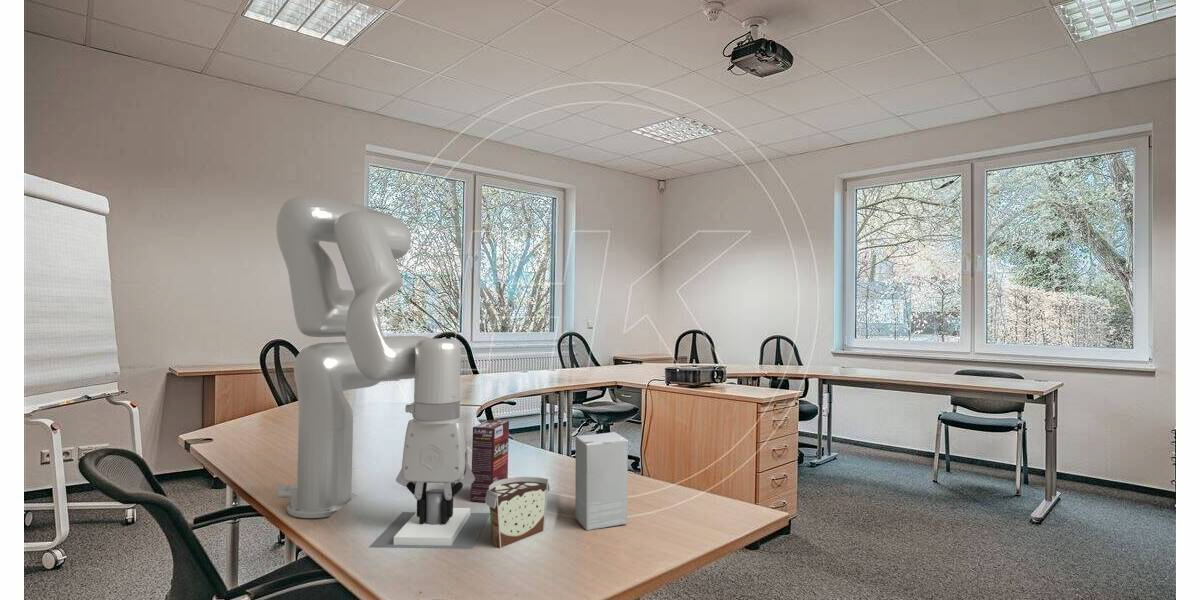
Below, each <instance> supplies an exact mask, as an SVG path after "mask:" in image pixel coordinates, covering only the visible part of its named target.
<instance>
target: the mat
mask: <svg viewBox="0 0 1200 600" xmlns="http://www.w3.org/2000/svg"><path fill="white" fill-rule="evenodd" d="M416 512H417V511H402V512H401V513H400V514H399V515H398V516H397V518H395V519H394V520H393V521H392V522H391V524H389V526H388V527H386V529H385V530H383V532H382V533H381V534H380V535H379V536H378V537H376V539H375V540H373V542H372V543H371V544H370V545H369V547H368V548H382V549H383V548H389V549H390V548H392V549H397V548H399V549H401V548H402V549H454V550H455V549H458V550H459V549H460V550H461V549H463V550H467V549H468V550H470V549H471V550H473V547H474V546H475V544H476V542H477V540H478V538H479V537H480V534H481V533H482V531H483V529H484V527H485V525H486V524H487V521H488V520H489V518H490V512H470V516H469V518H468V519H467V521H466V523H465V524H464V526H463V527H462V529H461V531H460V532H459V534H458V535H457V537H456V539H455V540H454V542H453V543H452V545H451V546H445V545H394V536H395V535H396V534H397V533H398V532H399V531H400V530H401V528H402V527H403V526H404V525H405V524H406V523H407V522H408V521H409V520H410V519H411V517H412V516H413V515H414V514H415V513H416Z"/></svg>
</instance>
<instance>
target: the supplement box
mask: <svg viewBox="0 0 1200 600" xmlns="http://www.w3.org/2000/svg"><path fill="white" fill-rule="evenodd" d="M509 432H510V420H505V419H504V420H502V419H501V420H500V419H488V420H486V421H484V422H482V423H480V424H478V425H474V426H473V427H472V445H471V446H472V447H471V471H472V473H473V475H474V477H475V481H474V482H473V483H472V484H470V503H480V504H486V502H485V498H486V494H487V490H488V489H489V486H490V485H491V484H492V483H494V482H496V481H499V480H502V479H507V478H508V476H509V437H510V436H509V435H510V433H509Z"/></svg>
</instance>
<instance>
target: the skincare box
mask: <svg viewBox="0 0 1200 600" xmlns="http://www.w3.org/2000/svg"><path fill="white" fill-rule="evenodd" d="M628 448H629V440H628V439H626V438H625V437H623V436H622V435H621V434H619V433H618V432H616V431H612V432H603V433H595V434H586V435H585V434H584V435H582V434H581V435H575V519H576V520H577V522H578V523H579V524H580V525H581V526H582V528H584V530H585V531H592V530H598V529H599V530H600V529H603V528H609V527H616V526H622V525H628V479H629V478H628V470H629V469H628V468H629V467H628V461H629V460H628V459H629V458H628V451H629V449H628Z"/></svg>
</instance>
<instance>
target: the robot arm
mask: <svg viewBox="0 0 1200 600" xmlns="http://www.w3.org/2000/svg"><path fill="white" fill-rule="evenodd" d="M275 229H276V237H277V243H278V247H279V250H280V252H281V256H282V257H283V260H284V263H285V265H286V269H287V273H288V280H289V287H290V294H291V300H292V307H293V311H294V313H293V314H294V319H295V322H296V326H297V328H298V331H299V332H300V333H301V334H302V335H305V336H306V337H311V338H335V337H336V338H337V337H338V338H339V337H340V338H341V337H342V338H343V337H344V338H345V341H346V342H345V341H335V342H333V341H332V342H319V343H316V344H314V343H313V344H311V345H308V346H307V347H305V348H302V350H301V351H299V353H298V354H297V355H296V357H295V358H294V362H293V373H294V374H293V375H294V381H295V386H296V392H297V400H298V436H297V437H298V438H297V439H298V440H297V446H298V447H297V475H296V476H297V478H296V479H297V480H296V481H297V482H296V484H295V485H290V484H281V485H280V484H279V486H278V488H277V490H276V491H277V498H278V499H285V498H286V499H290V503H288V505H287V510H286V511H287V512H286V513H287V514H288V515H290V516H291V517H295V518H300V519H320V518H330V517H331V516H333V515H334V514H335V513H337V512H338V511H339V510H341V509H342V508H343V507H344V506H346V505H347V504H348V503H350V502H351V501H352V500H354V499H355V498H356V497H358V495H357V494H355V493H354V492H352V489H353V487H352V486H353V484H352V483H353V476H352V475H353V446H354V445H353V443H354V442H353V440H354V414H353V409H352V406H351V405H350V403H349V401H348V399H347V397H346V396H345V394H344V391H345V392H346V391H349V390H356V389H357V390H358V389H364V388H365V389H366V388H370V387H371V388H372V387H373V386H376V385H378V384H379V383H380V382H381V383H382V382H390V381H398V380H409V379H414V385H413V386H414V387H413V388H414V391H413V393H414V395H413V402H412V403H410V404H406V405H405V408H404V411H405V413H410V414H412V419H409V420H408V422H407V425H406V431H405V435H404V436H405V437H404V442H403V452H402V460H401V461H402V462H401V469H400V470H399V472H398V474H397V476H396V478H395V481H396V482H397V483H398V484H399V485H402V486H404V487H406V489H407V490H409V492H410V493H411V494H412V495H413V496H414V499H415V500H416V512H417V517H419V524H423V523H425V521H426V492H427V487H428V483H430V484H432V483H433V484H440V483H441V484H443V490H444V493H445V495H444V499H443V500H442V503H441V523H442V524H446V523H447V522H448V520H449V519H450V517H452V515H453V508H454V497H455V496H456V495H457V494H458V493H459V492H460V491H461V490H462V489H463V488H466V487H468V486H471V484H472V483H473V482H474V481H475V477H474V475H473V473H472V468H471V467H470V464H468V462H469V461H468V442H467V433H466V427H465V422H464V418H461V414H460V413H461V369H462V368H461V363H462V362H461V360H462V358H461V357H462V346H461V344H460V342H459V341H457V340H456V339H452V338H433V337H432V338H431V337H429V336H428V337H427V336H423V335H394V336H393V335H391V336H384V335H383V330H382V324H381V319H380V314H379V309H378V307H377V303H380V302H382V301H385V300H386V299H389V298H390V297H392V296H393V295H395V294H396V293H397V292H399V290H400V289H401V287H402V286H403V283H404V282H403V277H402V274H401V272H400V269H399V267H398V265H397V264H398V263H397V262H396V260H397V259H398V260H399V259H402V258H403V257H405V256H406V255H407V254H408V252H409V250H410V248H411V242H412V241H411V240H412V239H411V232H410V230H409V228H408V226H407V225H406V224H405V222H404V221H402V220H401V219H400V218H398V217H395V216H392V215H390V214H387V213H384V212H381V211H379V210H377V209H373V208H370V207H368V206H365V205H360V204H357V203H351V202H346V201H343V200H342V201H341V200H337V199H332V198H327V197H323V196H322V197H321V196H316V195H315V196H314V195H298V196H294V197H291V198H289V199H287V200H286V201H285V202H284V203H283V204H282V205H281V208H280V209H279V211H278V215H277V219H276V228H275ZM320 242H327V243H334V244H336V245H337V246H338V249H339V252H340V255H341V258H342V261H343V264H344V266H345V269H346V271H347V274H348V277H349V279H350V284H351V285H352V288H353V289H352V290H350V289H342V288H341V287H340V285H339V281H338V277H337V270H336V266H335V264H334V262H333V260H332V258H331V257H330V255H329V254H328V252H326V250H325V249H324V247H322V246H321V245H320Z"/></svg>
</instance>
